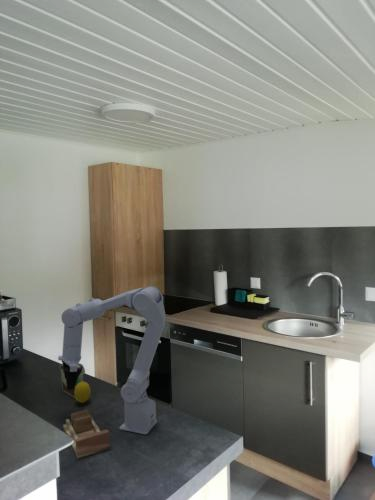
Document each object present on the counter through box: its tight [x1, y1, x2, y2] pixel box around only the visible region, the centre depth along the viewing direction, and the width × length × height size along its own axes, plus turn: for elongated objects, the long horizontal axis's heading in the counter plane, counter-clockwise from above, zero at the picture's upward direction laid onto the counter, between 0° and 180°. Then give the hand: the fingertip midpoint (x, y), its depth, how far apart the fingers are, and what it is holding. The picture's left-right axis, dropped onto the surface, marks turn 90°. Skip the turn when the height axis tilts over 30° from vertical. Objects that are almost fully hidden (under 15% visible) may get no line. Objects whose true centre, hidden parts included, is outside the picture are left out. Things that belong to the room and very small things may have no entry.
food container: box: [59, 362, 86, 399], centre depth 144 cm, size 12×6×10 cm, turn 47°
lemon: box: [74, 380, 92, 404], centre depth 135 cm, size 6×6×8 cm
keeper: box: [70, 409, 93, 433], centre depth 117 cm, size 5×5×4 cm
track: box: [62, 417, 111, 460], centre depth 113 cm, size 18×9×5 cm, turn 30°
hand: (69, 383), depth 123 cm, fingers open, 7 cm apart
